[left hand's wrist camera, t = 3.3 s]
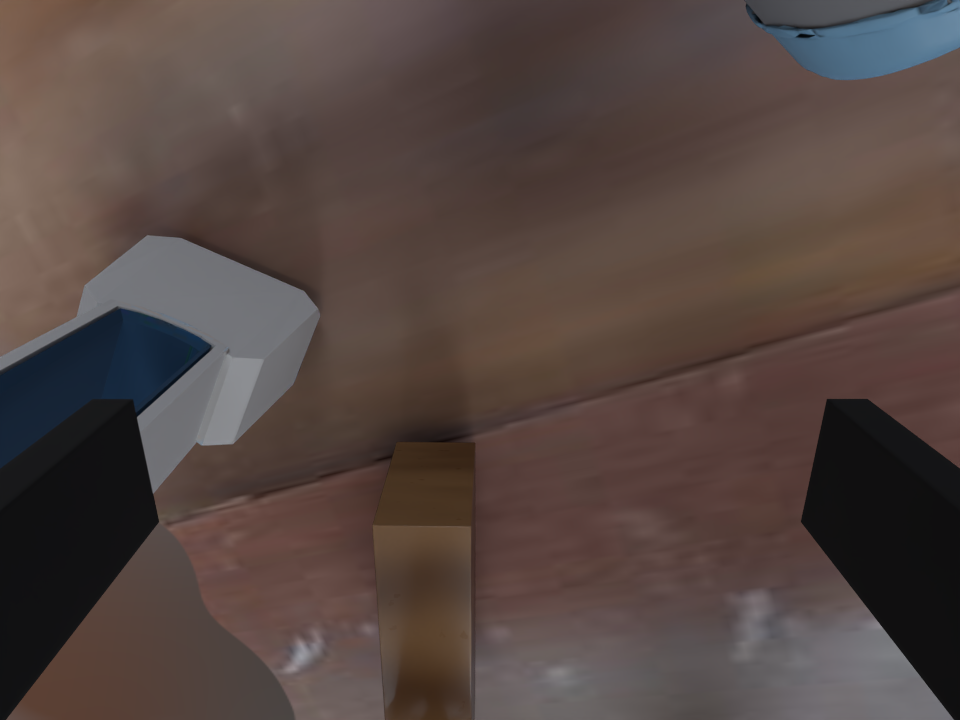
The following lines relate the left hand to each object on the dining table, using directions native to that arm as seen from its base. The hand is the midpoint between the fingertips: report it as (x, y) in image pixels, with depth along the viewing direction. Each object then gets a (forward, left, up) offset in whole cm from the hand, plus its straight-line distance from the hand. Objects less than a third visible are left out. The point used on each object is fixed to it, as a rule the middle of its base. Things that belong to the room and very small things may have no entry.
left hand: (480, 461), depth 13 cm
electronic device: (+7, -18, -36) cm, 41 cm away
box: (+31, -3, -33) cm, 45 cm away
